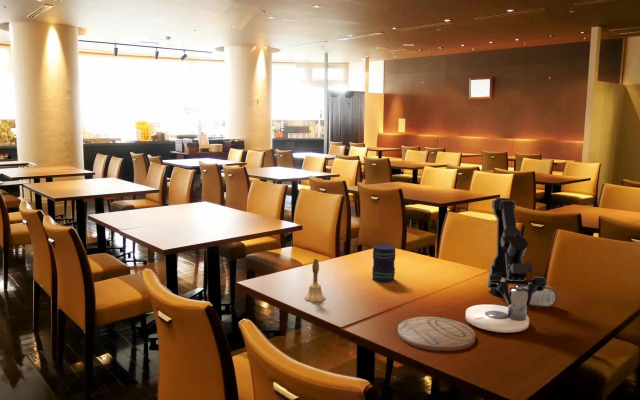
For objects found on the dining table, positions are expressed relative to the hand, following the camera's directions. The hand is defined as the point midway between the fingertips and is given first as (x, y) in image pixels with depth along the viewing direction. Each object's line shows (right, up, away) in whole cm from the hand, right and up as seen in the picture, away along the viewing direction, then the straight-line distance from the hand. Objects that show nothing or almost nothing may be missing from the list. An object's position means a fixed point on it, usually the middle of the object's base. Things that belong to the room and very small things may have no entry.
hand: (518, 304), depth 180 cm
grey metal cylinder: (0, -5, +2) cm, 5 cm away
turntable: (-6, -7, +5) cm, 11 cm away
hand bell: (-70, -3, +28) cm, 75 cm away
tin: (+15, -5, +23) cm, 28 cm away
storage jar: (-40, 0, +54) cm, 67 cm away
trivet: (-30, -9, -6) cm, 32 cm away
